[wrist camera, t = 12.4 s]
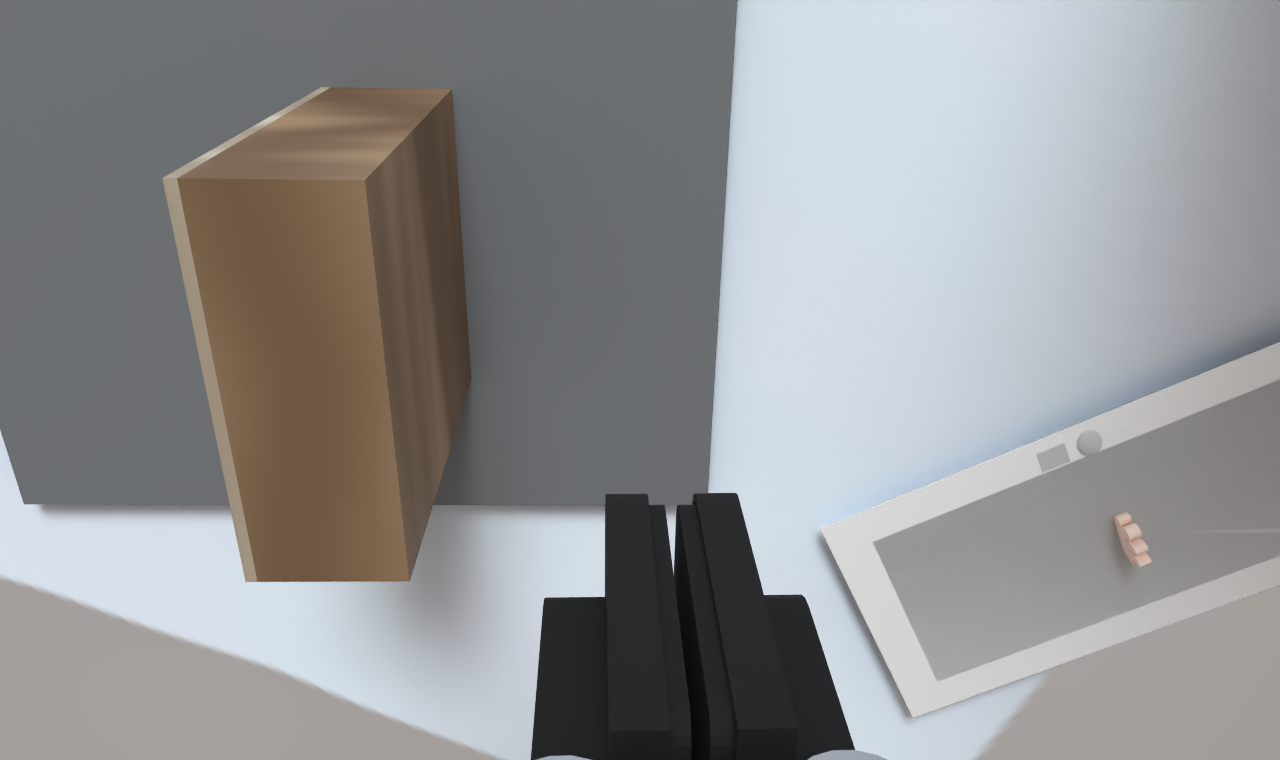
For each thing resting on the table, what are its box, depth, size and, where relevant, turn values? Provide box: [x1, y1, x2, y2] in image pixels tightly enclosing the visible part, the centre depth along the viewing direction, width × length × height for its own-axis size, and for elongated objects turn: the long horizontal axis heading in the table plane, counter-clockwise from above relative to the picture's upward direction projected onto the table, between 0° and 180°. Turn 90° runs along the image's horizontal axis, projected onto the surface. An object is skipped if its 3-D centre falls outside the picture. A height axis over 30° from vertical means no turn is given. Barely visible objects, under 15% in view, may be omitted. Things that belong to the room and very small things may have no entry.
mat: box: [0, 0, 737, 505], centre depth 22 cm, size 18×14×1 cm
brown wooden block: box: [162, 87, 472, 582], centre depth 18 cm, size 3×7×8 cm, turn 179°
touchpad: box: [820, 342, 1280, 718], centre depth 26 cm, size 8×15×2 cm, turn 116°
